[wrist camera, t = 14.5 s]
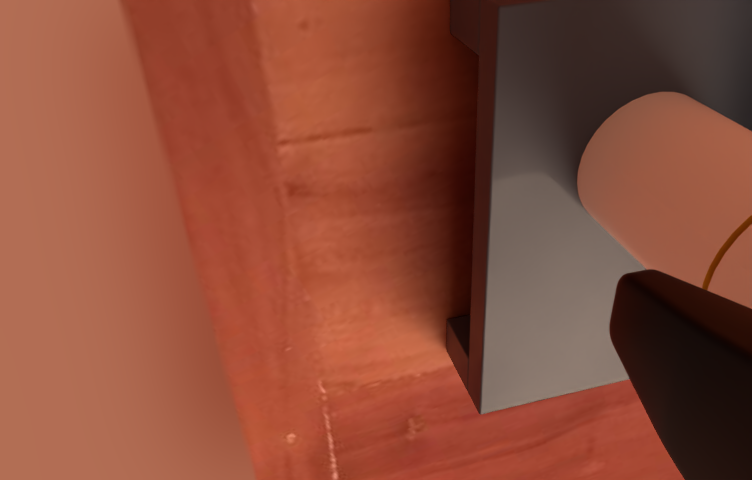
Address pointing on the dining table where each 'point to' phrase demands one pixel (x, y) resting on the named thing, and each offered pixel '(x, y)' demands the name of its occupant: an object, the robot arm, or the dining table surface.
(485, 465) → the dining table surface
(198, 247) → the dining table surface
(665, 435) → the robot arm
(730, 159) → the tube
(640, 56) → the shelf
